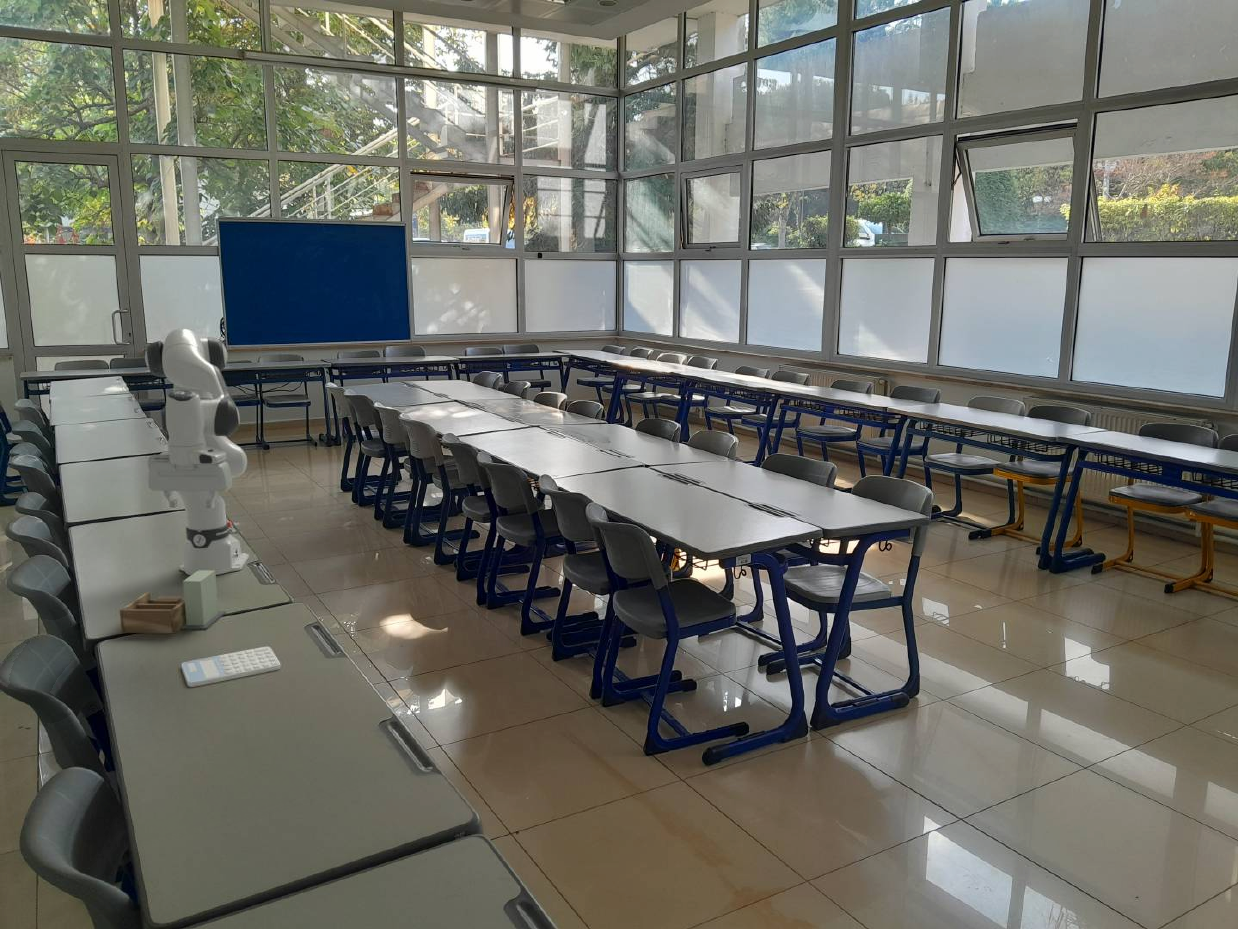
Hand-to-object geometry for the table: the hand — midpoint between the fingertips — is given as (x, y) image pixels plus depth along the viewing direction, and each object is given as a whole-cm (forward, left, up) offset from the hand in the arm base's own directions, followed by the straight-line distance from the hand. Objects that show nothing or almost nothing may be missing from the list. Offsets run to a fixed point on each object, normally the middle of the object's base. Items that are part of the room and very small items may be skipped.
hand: (192, 507), depth 236 cm
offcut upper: (-2, -10, -28) cm, 30 cm away
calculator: (+30, +20, -32) cm, 48 cm away
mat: (0, 0, -31) cm, 31 cm away
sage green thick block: (0, 0, -30) cm, 31 cm away
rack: (+2, -10, -31) cm, 33 cm away
